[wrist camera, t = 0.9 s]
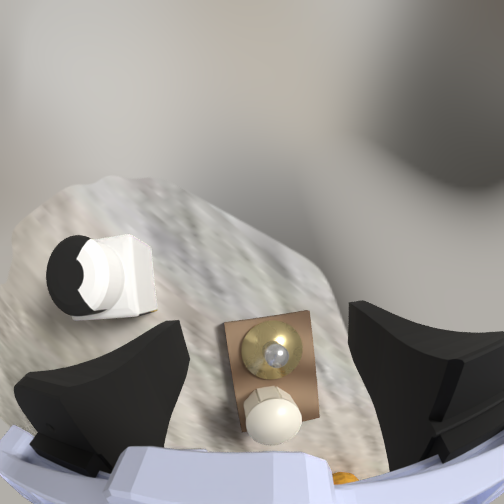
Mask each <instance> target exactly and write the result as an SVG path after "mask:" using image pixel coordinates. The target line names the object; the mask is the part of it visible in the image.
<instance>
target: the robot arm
mask: <svg viewBox="0 0 504 504" xmlns="http://www.w3.org/2000/svg"><path fill="white" fill-rule="evenodd" d="M348 345H349V349H350V352H351V355H352V358H353V361H354V363H355V366H356V368H357V370H358V372H359V374H360V376H361V378H362V380H363V382H364V384H365V387H366V389H367V391H368V393H369V395H370V397H371V399H372V402H373V404H374V407H375V410H376V414H377V417H378V420H379V424H380V428H381V431H382V435H383V439H384V444H385V448H386V453H387V458H388V463H389V470H390V472H388V473H385V474H382V475H378V476H375V477H371V478H367V479H363V480H359V481H355V482H350V483H345V484H340V485H334V483H333V477H332V471H331V469H330V467H329V465H328V463H327V462H326V460H324V459H321V458H318V457H315V456H312V455H309V454H306V453H303V452H289V451H262V452H208V451H207V450H206V449H187V450H180V449H170V448H164V443H165V438H166V433H167V429H168V425H169V421H170V418H171V415H172V412H173V410H174V407H175V404H176V402H177V399H178V397H179V394H180V392H181V389H182V387H183V384H184V381H185V379H186V375H187V371H188V366H189V361H190V357H189V354H188V350H187V347H186V343H185V340H184V336H183V333H182V329H181V325H180V321H179V320H174V321H165V322H163V323H161V324H159V325H157V326H155V327H154V328H152V329H150V330H149V331H147V332H145V333H144V334H142V335H141V336H139V337H137V338H136V339H134V340H132V341H130V342H129V343H127V344H125V345H123V346H122V347H120V348H118V349H116V350H114V351H112V352H110V353H108V354H105V355H103V356H101V357H98V358H96V359H93V360H90V361H87V362H84V363H81V364H78V365H74V366H70V367H66V368H61V369H55V370H48V371H38V372H29V373H27V374H26V375H25V376H24V377H23V378H22V379H21V380H20V381H19V382H18V383H17V384H16V385H15V387H14V394H15V398H16V400H17V403H18V404H19V406H20V408H21V409H22V411H23V412H24V414H25V415H26V417H27V418H28V420H29V421H30V422H31V424H32V425H33V426H34V428H35V429H36V430H37V432H38V433H37V434H36V436H35V437H34V436H33V435H32V434H30V433H29V432H27V431H26V430H24V429H22V428H20V427H18V426H16V425H12V426H11V428H10V429H9V430H8V431H7V433H6V434H5V435H4V436H3V437H2V439H1V440H0V476H1V477H2V478H3V479H4V480H5V481H6V482H7V483H9V484H10V485H11V486H12V487H13V488H14V489H15V490H16V491H17V492H18V493H20V494H21V495H22V496H23V497H25V498H26V499H27V500H29V501H30V502H32V503H33V504H489V503H490V502H492V501H493V500H495V499H496V498H497V497H499V496H500V495H501V494H503V493H504V332H503V331H501V332H486V333H470V332H469V333H468V332H456V331H449V330H443V329H437V328H433V327H429V326H425V325H421V324H418V323H415V322H412V321H410V320H407V319H404V318H402V317H399V316H397V315H395V314H392V313H390V312H388V311H386V310H384V309H382V308H379V307H377V306H375V305H373V304H371V303H368V302H366V301H356V302H350V303H349V329H348Z"/></svg>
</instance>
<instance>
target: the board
mask: <svg viewBox="0 0 504 504" xmlns="http://www.w3.org/2000/svg"><path fill="white" fill-rule="evenodd" d="M269 320H277V321H282V322H285V323H287V324H289V325H290V326H292V327H293V328H294V329H295V330H296V331H297V332H298V334H299V336H300V338H301V341H302V345H303V352H302V357H301V360H300V362H299V364H298V365H297V367H296V368H295V369H294V370H293V371H292V372H291V373H289V374H288V375H286V376H284V377H282V378H278V379H263V378H260V377H257V376H256V375H254V374H253V373H251V372H250V371H249V370H248V369H247V367H246V366H245V364H244V362H243V359H242V354H241V347H242V342H243V340H244V338H245V336H246V334H247V333H248V332H249V330H250V329H251V328H253V327H254V326H255V325H257V324H259V323H261V322H264V321H269ZM224 325H225V332H226V339H227V346H228V353H229V359H230V366H231V372H232V378H233V384H234V390H235V396H236V402H237V408H238V414H239V419H240V425H241V430H242V432H247V428H246V416H245V410H244V402H245V400H246V399H247V398H248V397H249V396H250V395H251V393H252V392H253V391H254V390H256V391H257V388H264V387H270V386H275V387H276V386H277V387H279V388H280V389H282V390H283V391H285V392H286V393H288V394H290V396H291V397H292V399H293V400H294V402H295V403H296V405H297V407H298V408H299V411H300V413H301V416H302V422H303V421H307V420H312V419H316V418H320V416H319V402H318V389H317V377H316V366H315V356H314V346H313V337H312V328H311V319H310V311H308V310H304V311H299V312H293V313H286V314H280V315H274V316H267V317H260V318H253V319H246V320H239V321H231V322H224Z"/></svg>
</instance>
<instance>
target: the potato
mask: <svg viewBox="0 0 504 504" xmlns="http://www.w3.org/2000/svg"><path fill="white" fill-rule="evenodd" d="M332 477H333V483H334V485H340V484H345V483H350V482H355V481H359V480H358V479H357V478H356V477H355V476H354V475H353V474H351V473H344V472H338V473H334V474H332Z"/></svg>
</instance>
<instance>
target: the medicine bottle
mask: <svg viewBox="0 0 504 504" xmlns="http://www.w3.org/2000/svg"><path fill="white" fill-rule="evenodd" d="M46 280H47V287H48V291H49V294H50V296H51V298H52V300H53V302H54V303H55V304H56V306H57V307H58V308H59V309H60V310H62V311H63V312H64V313H66V314H68V315H71V316H72V319H73V320H95V319H111V318H125V317H137V316H140V315H144V314H147V313H151V312H154V311H157V309H158V306H157V298H156V290H155V281H154V272H153V262H152V250H151V247H150V246H149V245H147V244H146V243H144V242H142V241H141V240H139V239H137V238H136V237H134V236H133V235H131V234H126V235H119V236H113V237H107V238H101V239H95V240H93V239H91V238H89V237H86V236H82V235H75V236H71V237H68V238H66V239H64V240H63V241H61V242H60V243H59V244H58V245H57V246H56V247H55V249H54V250H53V252H52V254H51V256H50V258H49V261H48V265H47V271H46Z"/></svg>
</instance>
